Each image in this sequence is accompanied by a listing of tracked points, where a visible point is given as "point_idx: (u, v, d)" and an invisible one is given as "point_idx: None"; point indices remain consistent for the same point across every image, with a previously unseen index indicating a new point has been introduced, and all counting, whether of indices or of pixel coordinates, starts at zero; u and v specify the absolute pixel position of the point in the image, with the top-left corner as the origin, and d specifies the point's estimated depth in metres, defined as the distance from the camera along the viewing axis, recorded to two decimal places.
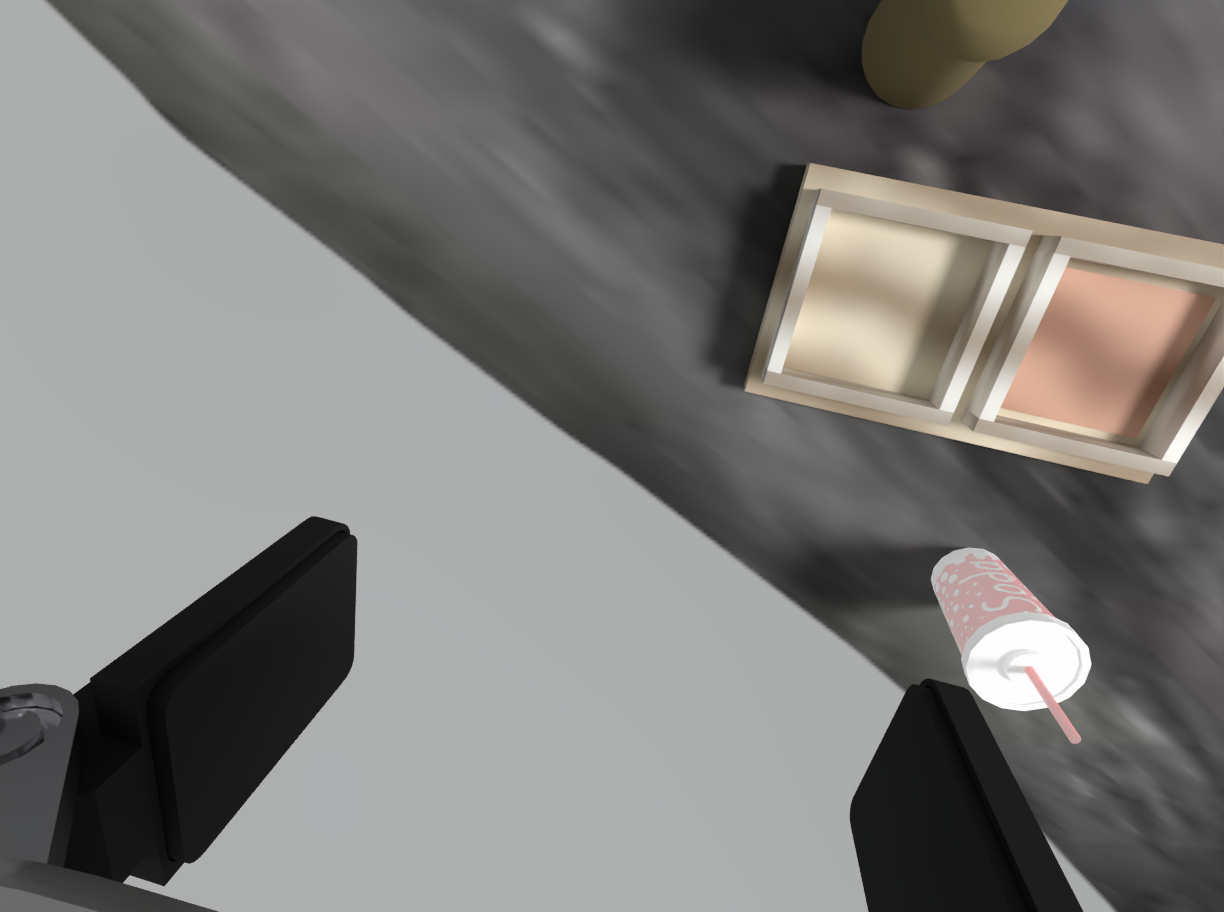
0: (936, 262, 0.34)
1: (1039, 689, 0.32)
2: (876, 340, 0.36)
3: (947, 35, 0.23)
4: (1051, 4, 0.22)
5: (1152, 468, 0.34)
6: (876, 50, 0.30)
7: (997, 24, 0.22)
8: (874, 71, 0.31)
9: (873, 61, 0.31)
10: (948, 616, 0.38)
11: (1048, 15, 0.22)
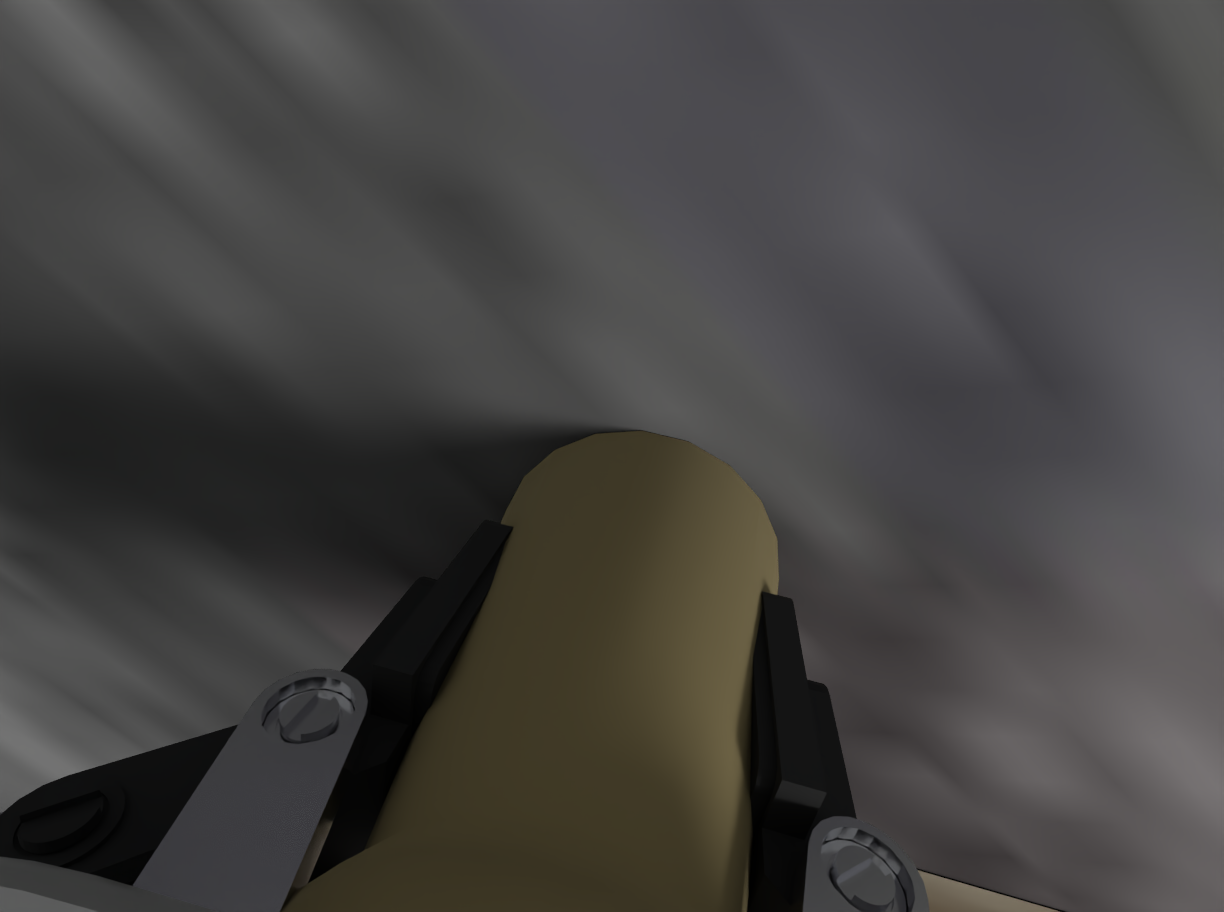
0: None
1: None
2: None
3: None
4: None
5: None
6: None
7: None
8: None
9: None
10: None
11: None
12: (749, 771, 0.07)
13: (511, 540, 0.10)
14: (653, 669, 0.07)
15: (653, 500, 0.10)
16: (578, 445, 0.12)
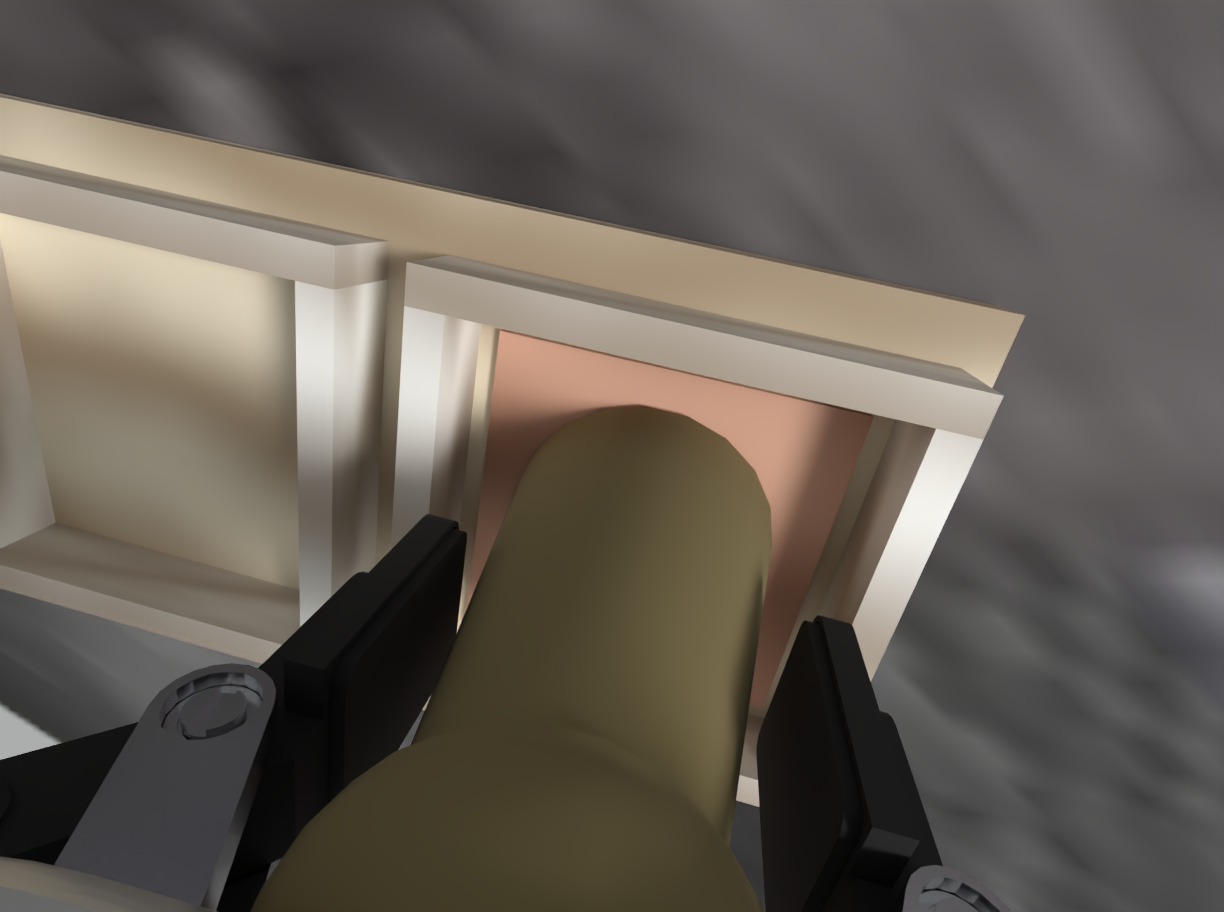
0: (254, 317, 0.14)
1: None
2: (207, 482, 0.16)
3: None
4: None
5: None
6: None
7: None
8: None
9: None
10: None
11: None
12: (737, 699, 0.08)
13: (526, 504, 0.11)
14: (653, 609, 0.08)
15: (654, 468, 0.11)
16: (586, 420, 0.13)
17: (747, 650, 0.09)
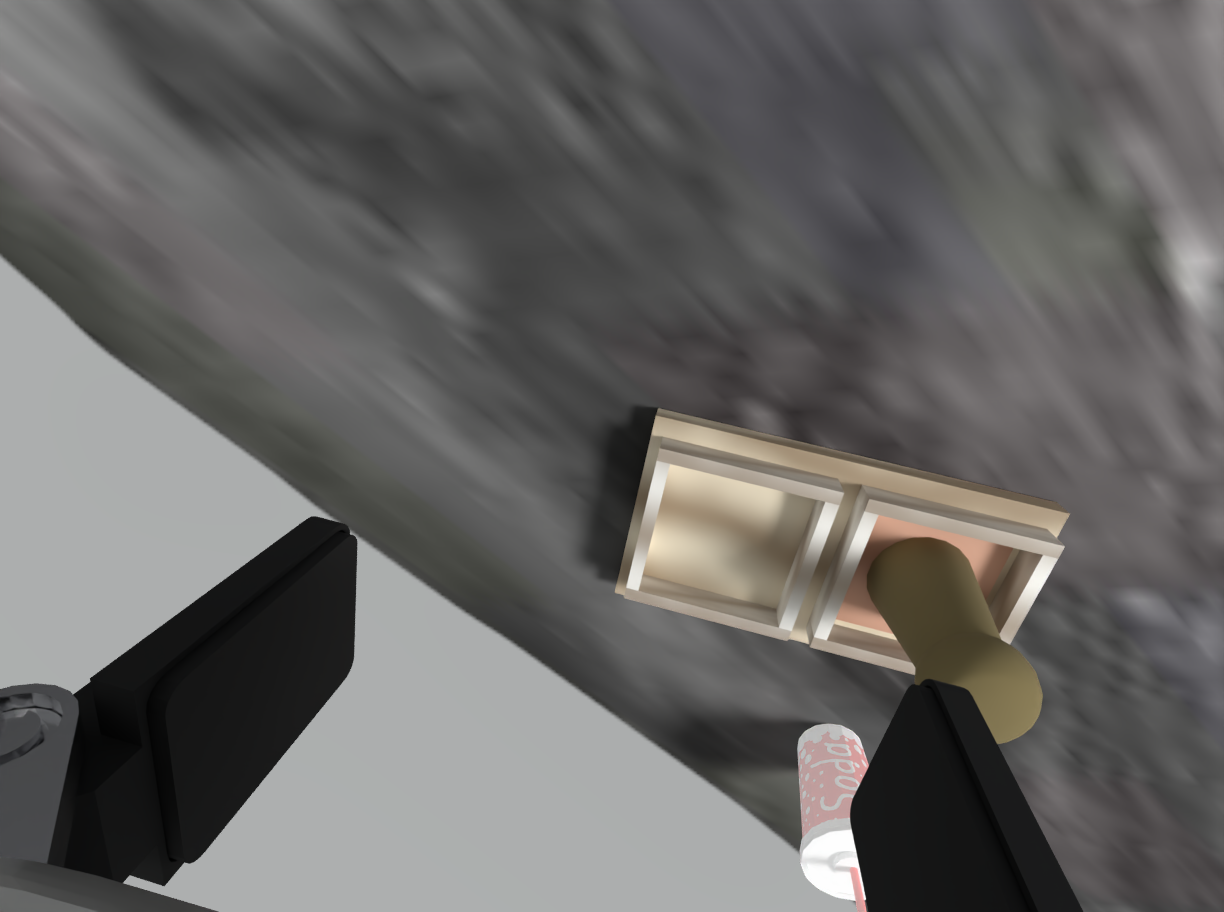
0: (772, 500, 0.37)
1: (855, 896, 0.35)
2: (726, 559, 0.39)
3: None
4: (1017, 736, 0.28)
5: None
6: (879, 605, 0.36)
7: None
8: (877, 607, 0.37)
9: (876, 604, 0.37)
10: (800, 797, 0.42)
11: None
12: None
13: (907, 575, 0.34)
14: (978, 608, 0.31)
15: (950, 563, 0.34)
16: (907, 541, 0.36)
17: None
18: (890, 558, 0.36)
